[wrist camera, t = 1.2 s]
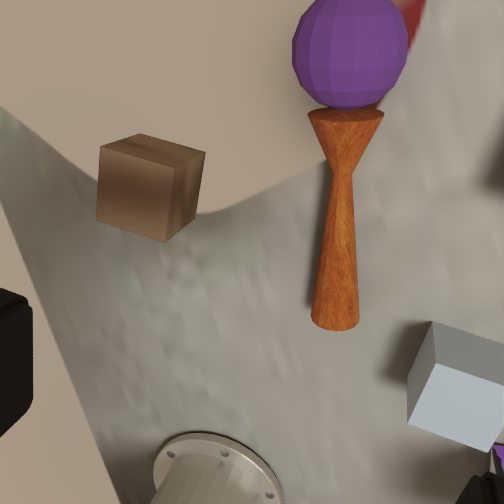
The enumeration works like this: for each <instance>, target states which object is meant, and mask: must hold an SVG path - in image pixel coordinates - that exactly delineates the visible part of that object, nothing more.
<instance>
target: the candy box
mask: <svg viewBox="0 0 504 504" xmlns="http://www.w3.org/2000/svg"><path fill="white" fill-rule="evenodd" d="M489 472H492V473H495V474H498V475H500V476H503V477H504V446H501V445H494V444H493V445H492V447H491V457H490V469H489Z"/></svg>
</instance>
